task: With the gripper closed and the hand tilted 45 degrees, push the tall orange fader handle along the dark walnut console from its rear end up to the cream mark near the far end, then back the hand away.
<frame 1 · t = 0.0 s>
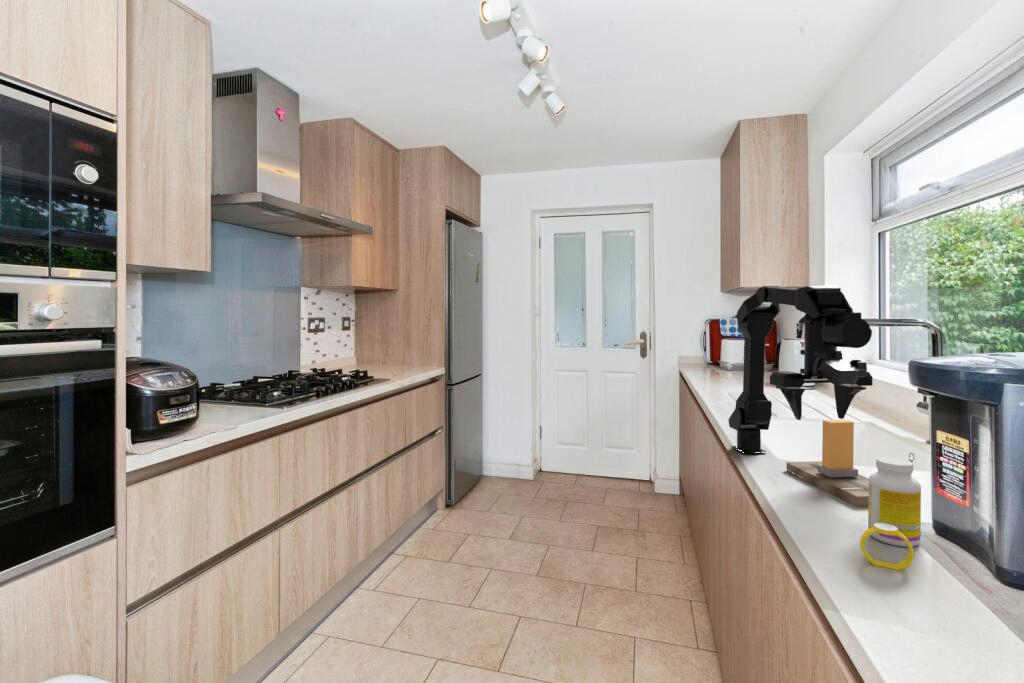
hand: (819, 419, 100), 15 cm above the worktop, tool pointing down, fingers open, 9 cm apart
supplement bottle: (893, 540, 77), on the worktop
fader: (837, 447, 102), point 8 cm above the worktop, slide at 0.0 cm
watch: (885, 567, 69), on the worktop
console: (840, 486, 102), on the worktop
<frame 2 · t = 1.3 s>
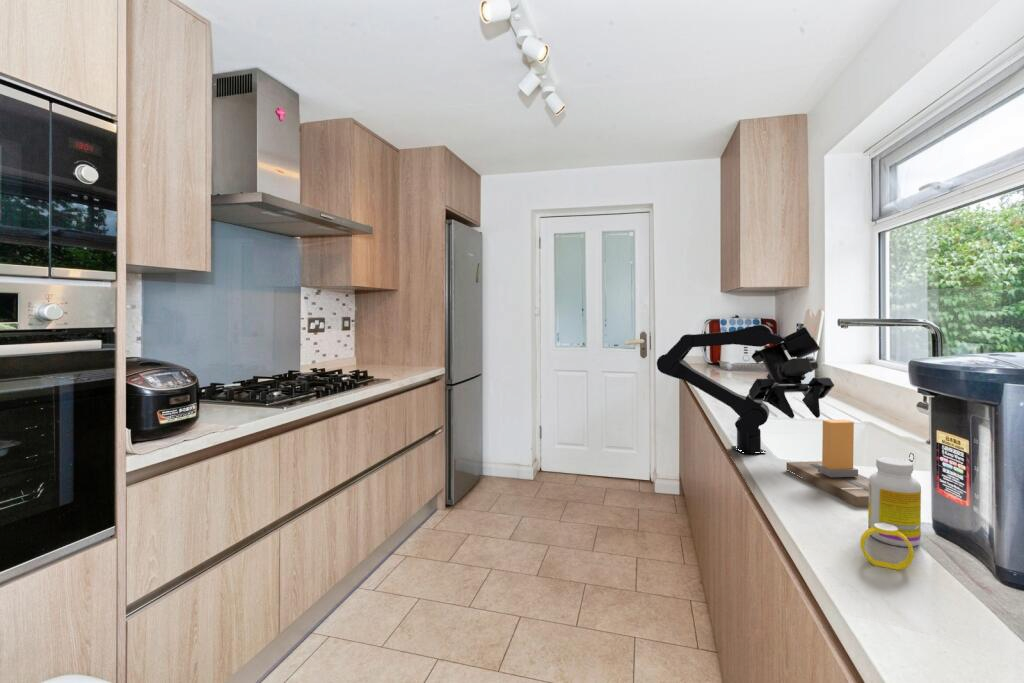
hand: (805, 417, 113), 13 cm above the worktop, tool tilted 45°, fingers open, 6 cm apart
nothing on the worktop moved.
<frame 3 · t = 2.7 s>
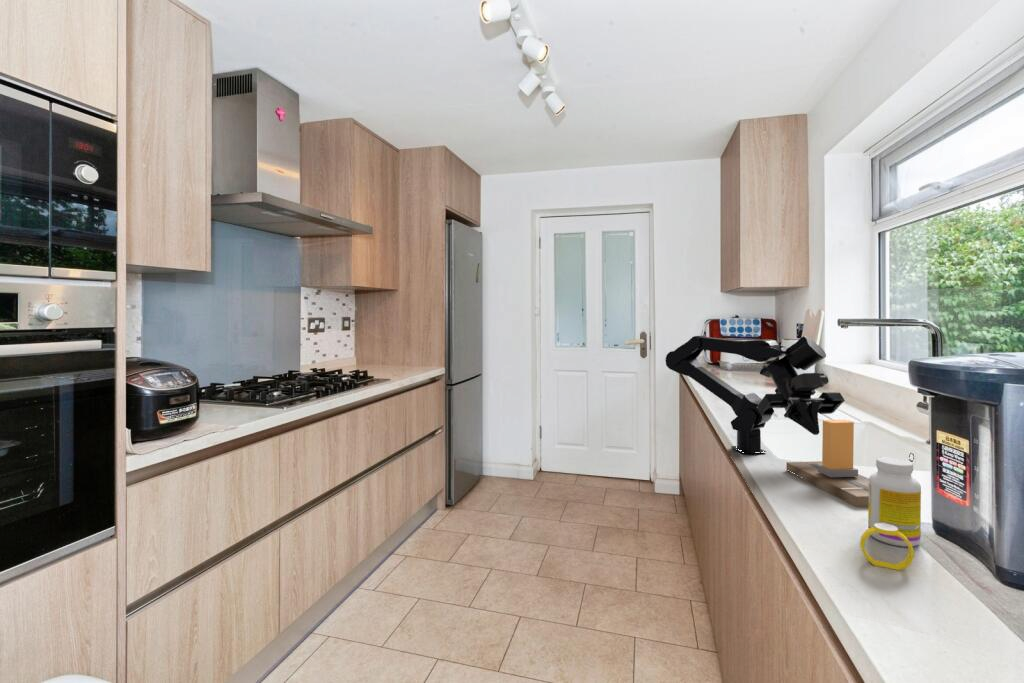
hand: (816, 433, 109), 9 cm above the worktop, tool tilted 45°, fingers closed
nothing on the worktop moved.
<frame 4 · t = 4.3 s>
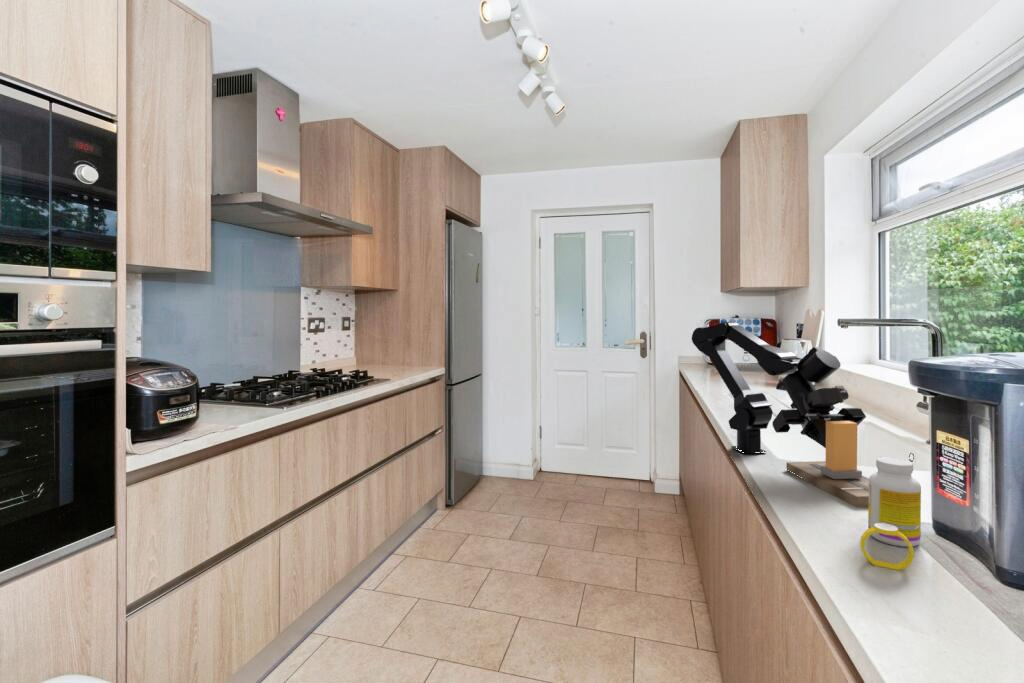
hand: (836, 452, 103), 7 cm above the worktop, tool tilted 45°, fingers closed, pressing on fader
fader: (841, 449, 101), point 8 cm above the worktop, slide at 1.0 cm, touching gripper
everything else where it was.
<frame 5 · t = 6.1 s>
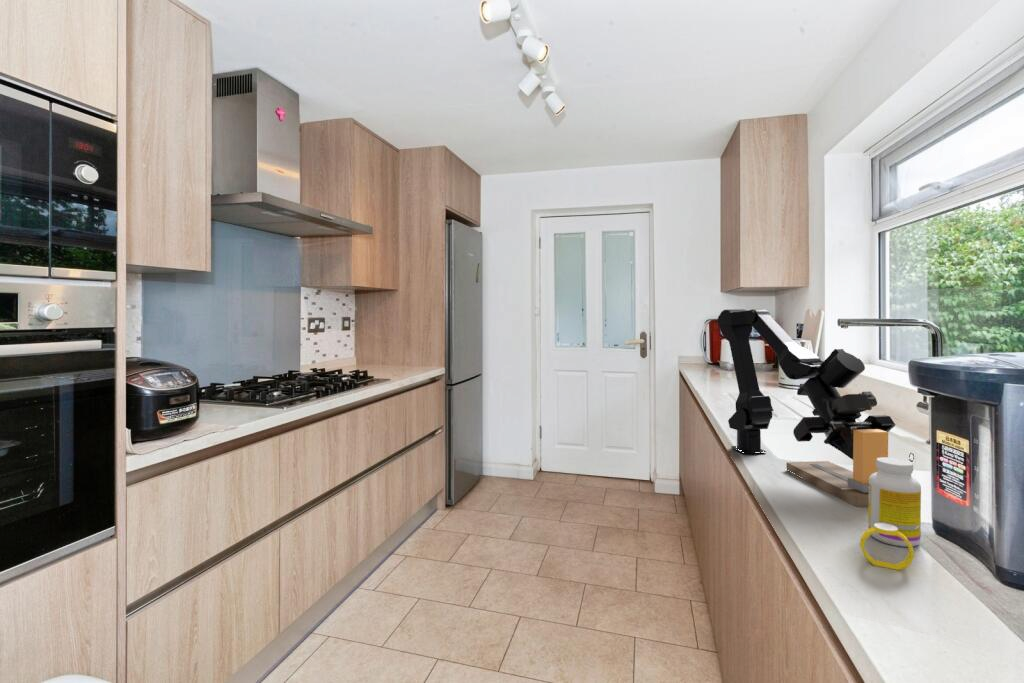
hand: (864, 464, 95), 7 cm above the worktop, tool tilted 45°, fingers closed, pressing on fader
fader: (870, 459, 93), point 8 cm above the worktop, slide at 8.9 cm, touching gripper
everything else where it was.
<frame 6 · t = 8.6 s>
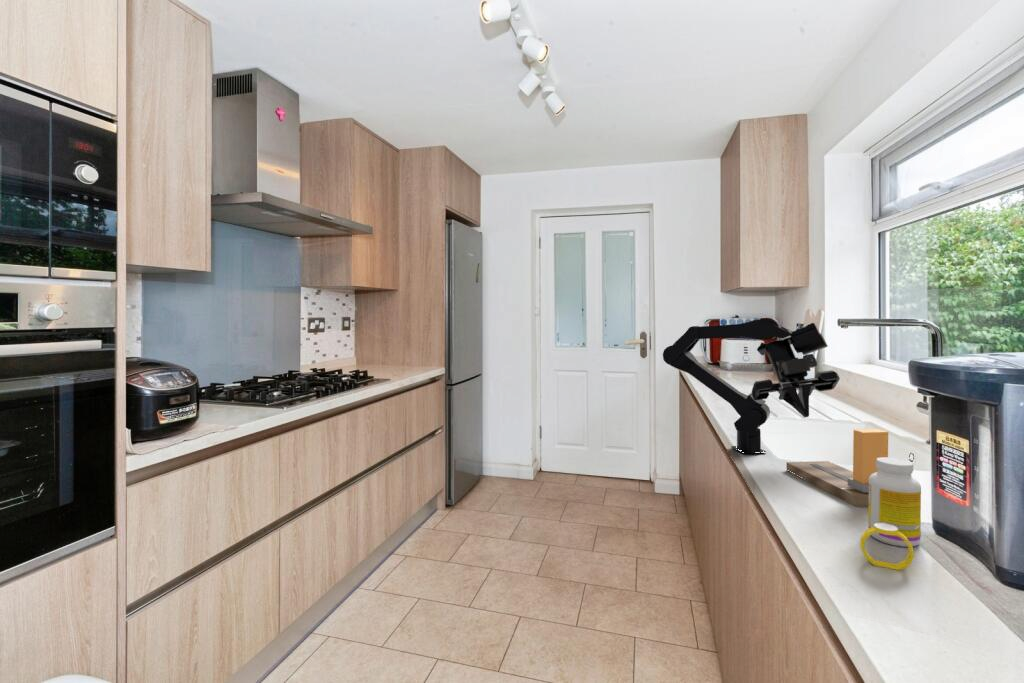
hand: (806, 416, 114), 12 cm above the worktop, tool tilted 35°, fingers closed
fader: (870, 459, 93), point 8 cm above the worktop, slide at 8.9 cm
everything else where it was.
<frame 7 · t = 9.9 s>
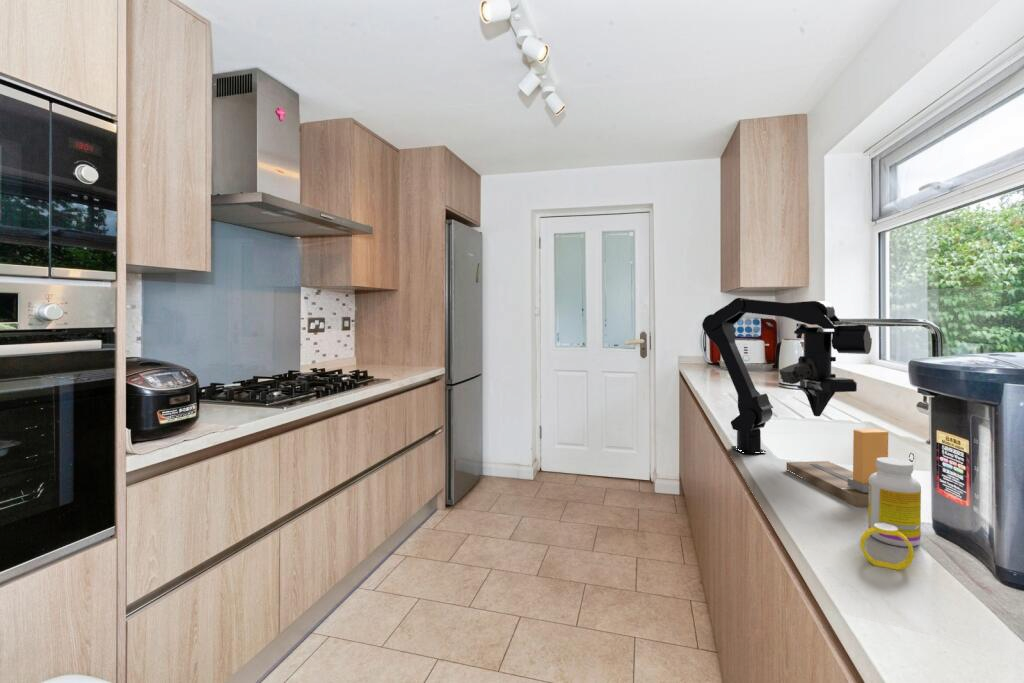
hand: (816, 416, 116), 12 cm above the worktop, tool pointing down, fingers closed
nothing on the worktop moved.
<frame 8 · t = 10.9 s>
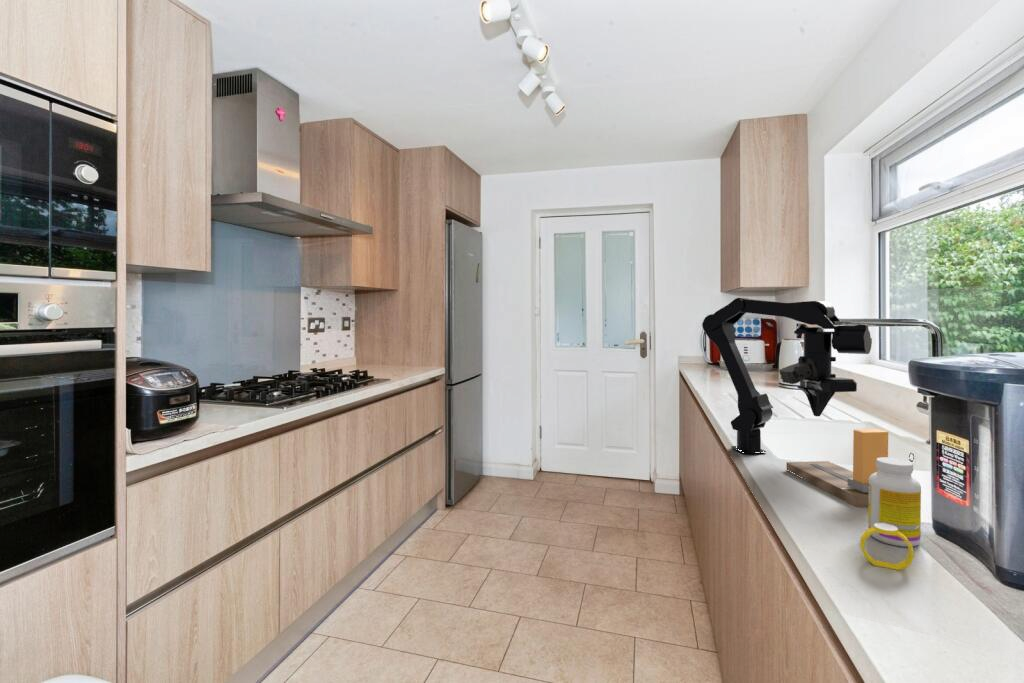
hand: (816, 416, 116), 12 cm above the worktop, tool pointing down, fingers closed
nothing on the worktop moved.
at the end: fader slide at 8.9 cm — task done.
